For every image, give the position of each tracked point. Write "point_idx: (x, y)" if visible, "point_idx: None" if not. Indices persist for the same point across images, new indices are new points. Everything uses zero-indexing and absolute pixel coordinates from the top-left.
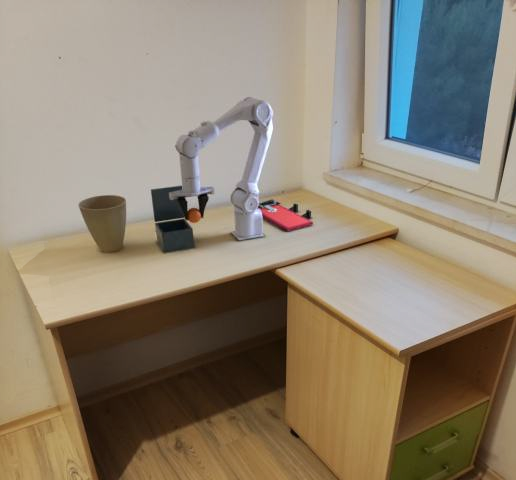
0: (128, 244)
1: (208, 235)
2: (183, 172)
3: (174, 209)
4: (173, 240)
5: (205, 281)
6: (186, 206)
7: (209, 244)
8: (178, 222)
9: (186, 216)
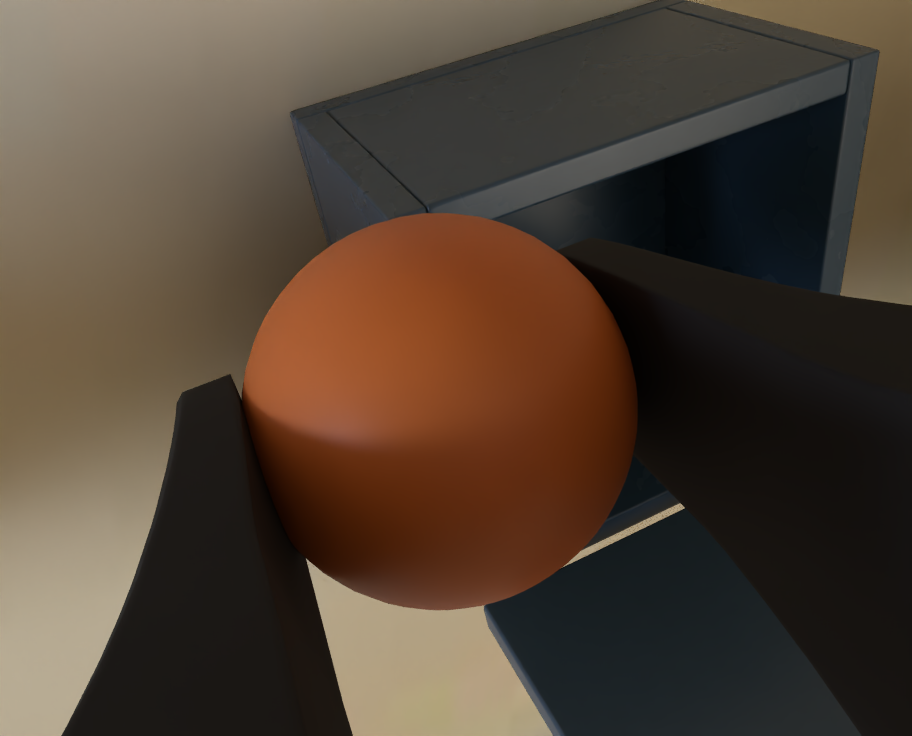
0: (884, 265)
1: (106, 497)
2: None
3: (691, 651)
4: (637, 66)
5: None
6: (900, 369)
7: (51, 210)
8: None
9: (657, 255)
